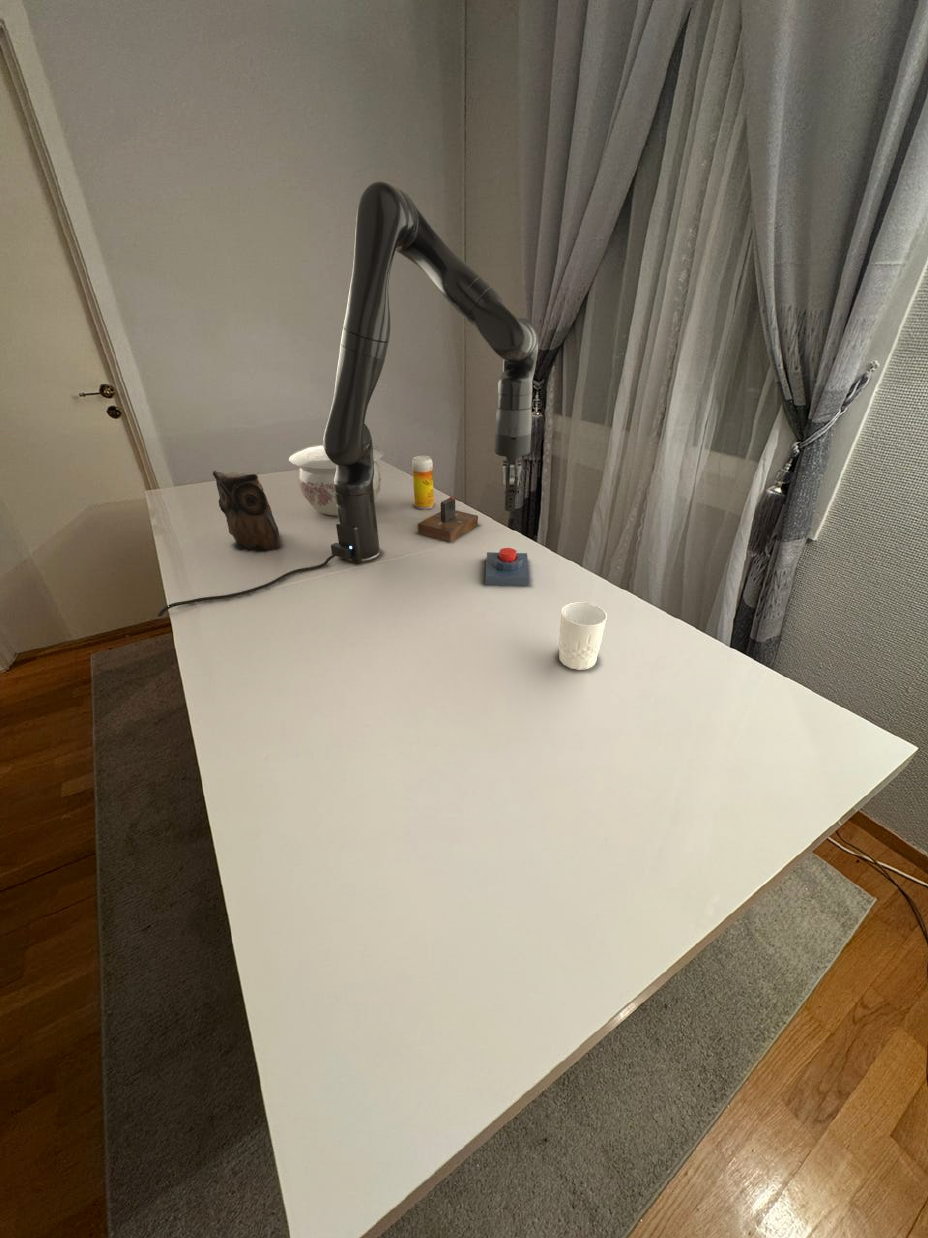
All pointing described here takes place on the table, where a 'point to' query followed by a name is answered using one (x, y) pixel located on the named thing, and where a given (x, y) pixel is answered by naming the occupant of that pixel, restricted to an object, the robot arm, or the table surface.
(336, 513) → the chamber pot
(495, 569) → the button box
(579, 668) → the white cup
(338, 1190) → the table surface
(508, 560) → the press knob
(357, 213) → the robot arm
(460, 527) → the dial panel
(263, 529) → the owl
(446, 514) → the dial knob
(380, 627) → the table surface
